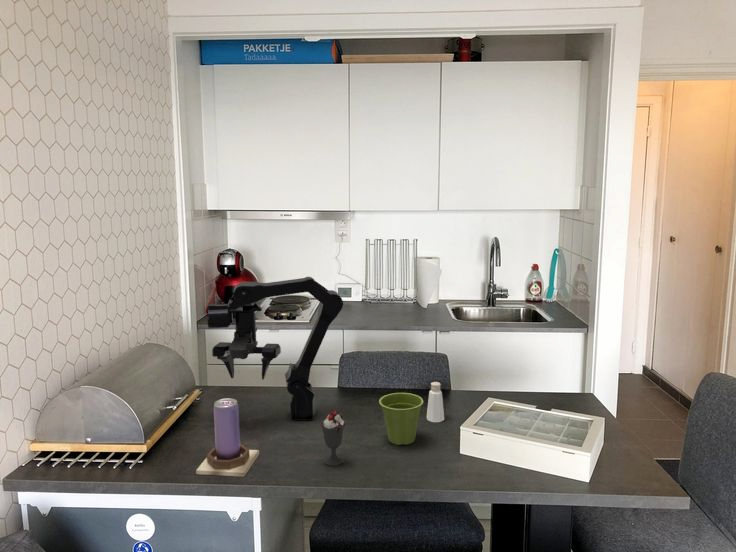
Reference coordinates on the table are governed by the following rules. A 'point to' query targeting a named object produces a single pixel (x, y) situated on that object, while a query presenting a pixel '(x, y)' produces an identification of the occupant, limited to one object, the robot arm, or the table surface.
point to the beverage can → (227, 429)
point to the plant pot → (401, 416)
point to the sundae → (333, 436)
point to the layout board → (228, 463)
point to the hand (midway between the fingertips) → (247, 378)
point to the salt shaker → (435, 404)
